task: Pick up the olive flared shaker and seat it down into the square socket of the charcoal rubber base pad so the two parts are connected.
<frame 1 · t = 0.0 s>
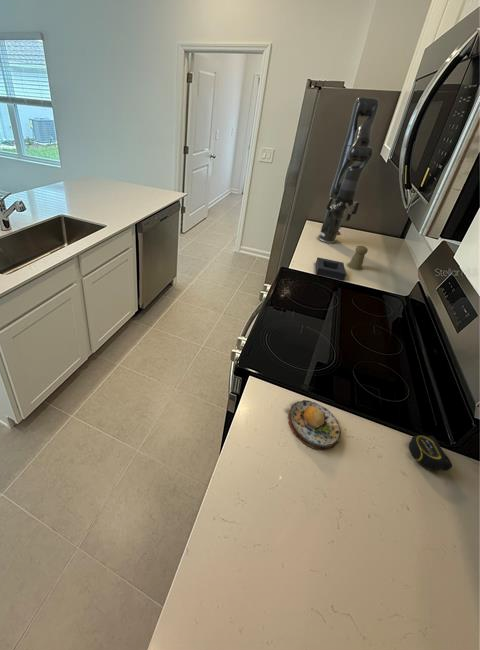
hand: (337, 219, 161), 17 cm above the worktop, tool pointing down, fingers open, 8 cm apart
olive flared shaker: (354, 267, 153), on the worktop
speckled dish: (312, 426, 74), on the worktop
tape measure: (425, 456, 70), on the worktop
base pad: (328, 271, 146), on the worktop
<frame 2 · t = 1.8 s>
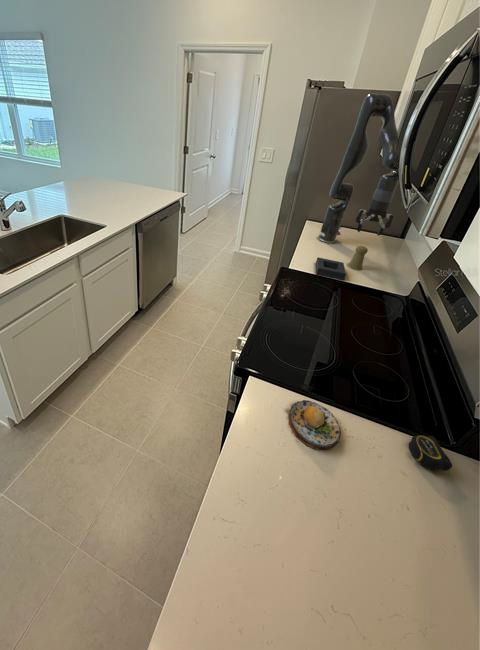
hand: (368, 233, 144), 18 cm above the worktop, tool pointing down, fingers open, 8 cm apart
nothing on the worktop moved.
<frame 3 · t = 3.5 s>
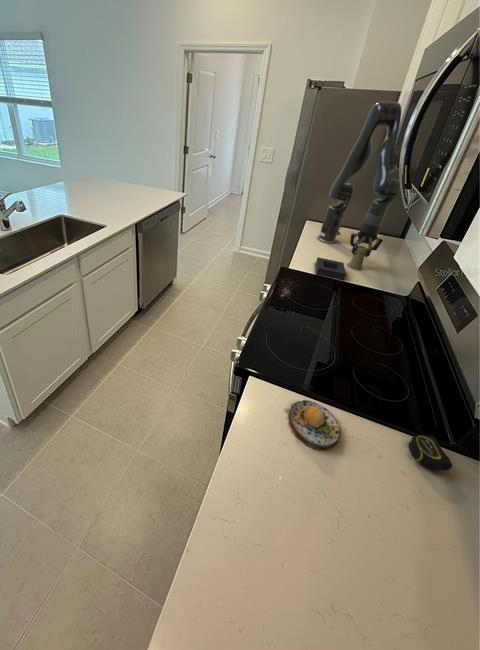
hand: (359, 255, 150), 6 cm above the worktop, tool pointing down, fingers closed on olive flared shaker, 5 cm apart
olive flared shaker: (354, 267, 153), on the worktop, touching gripper
everything else where it was.
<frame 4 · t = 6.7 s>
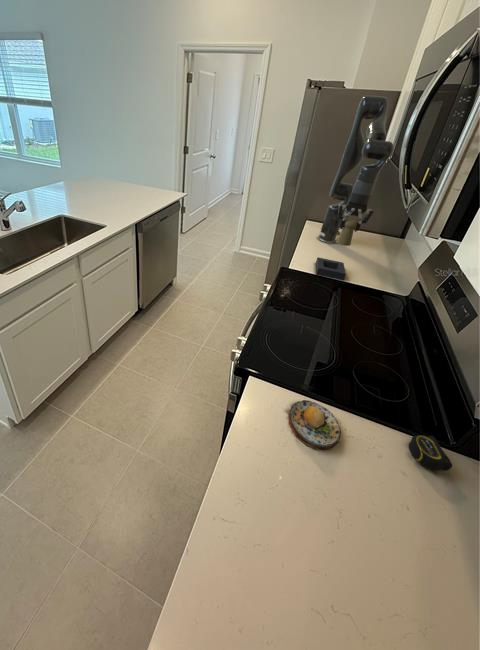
hand: (348, 229, 136), 21 cm above the worktop, tool pointing down, fingers closed on olive flared shaker, 5 cm apart
olive flared shaker: (343, 243, 139), point 15 cm above the worktop, touching gripper
everything else where it was.
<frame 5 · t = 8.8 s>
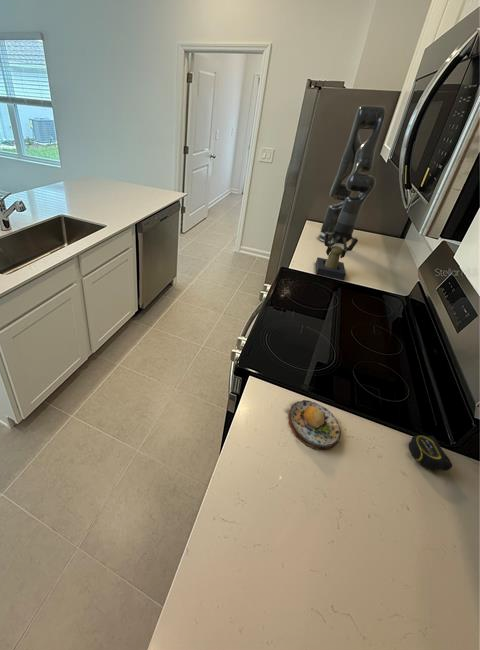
hand: (334, 256, 142), 8 cm above the worktop, tool pointing down, fingers closed on olive flared shaker, 5 cm apart
olive flared shaker: (329, 268, 145), point 2 cm above the worktop, touching gripper
everything else where it was.
when the fingers open (6 cm above the worktop, at t = 9.9 s): olive flared shaker stays where it is, resting in base pad.
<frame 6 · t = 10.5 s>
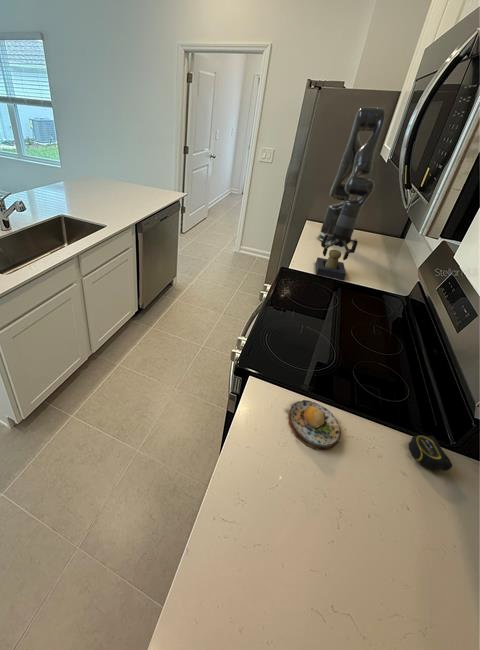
hand: (334, 257, 142), 8 cm above the worktop, tool pointing down, fingers open, 8 cm apart
olive flared shaker: (328, 271, 146), resting in base pad
everything else where it was.
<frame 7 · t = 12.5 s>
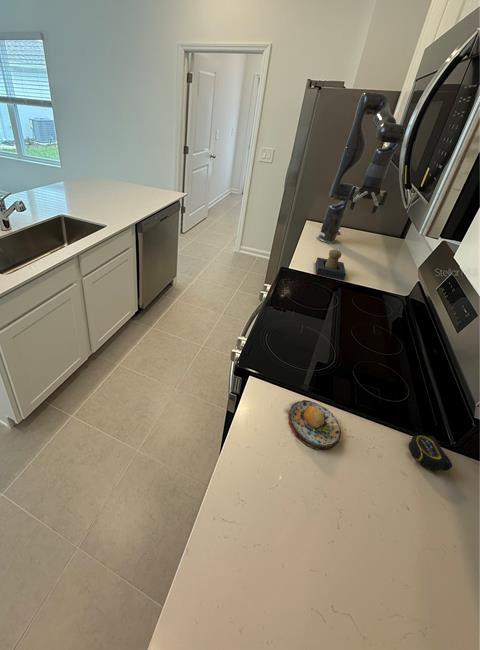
hand: (361, 211, 139), 28 cm above the worktop, tool pointing down, fingers open, 8 cm apart
nothing on the worktop moved.
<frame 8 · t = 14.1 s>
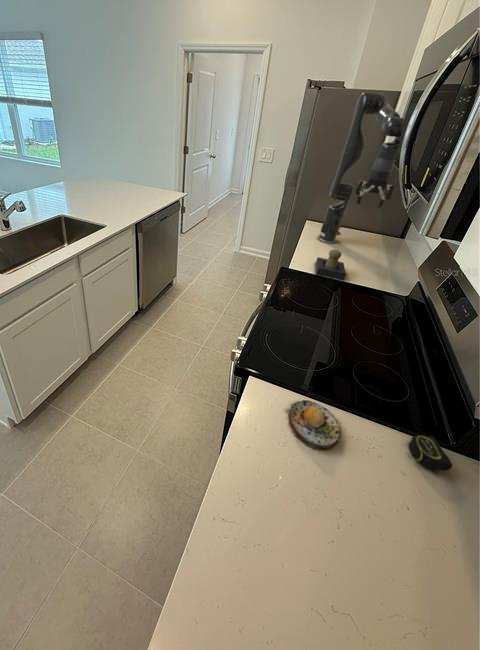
hand: (368, 205, 140), 30 cm above the worktop, tool pointing down, fingers open, 8 cm apart
nothing on the worktop moved.
at the end: olive flared shaker 0.0 cm off-centre in the base pad, point 0.0 cm above the base pad's base; olive flared shaker tilted 0°; the gripper is holding nothing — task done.
